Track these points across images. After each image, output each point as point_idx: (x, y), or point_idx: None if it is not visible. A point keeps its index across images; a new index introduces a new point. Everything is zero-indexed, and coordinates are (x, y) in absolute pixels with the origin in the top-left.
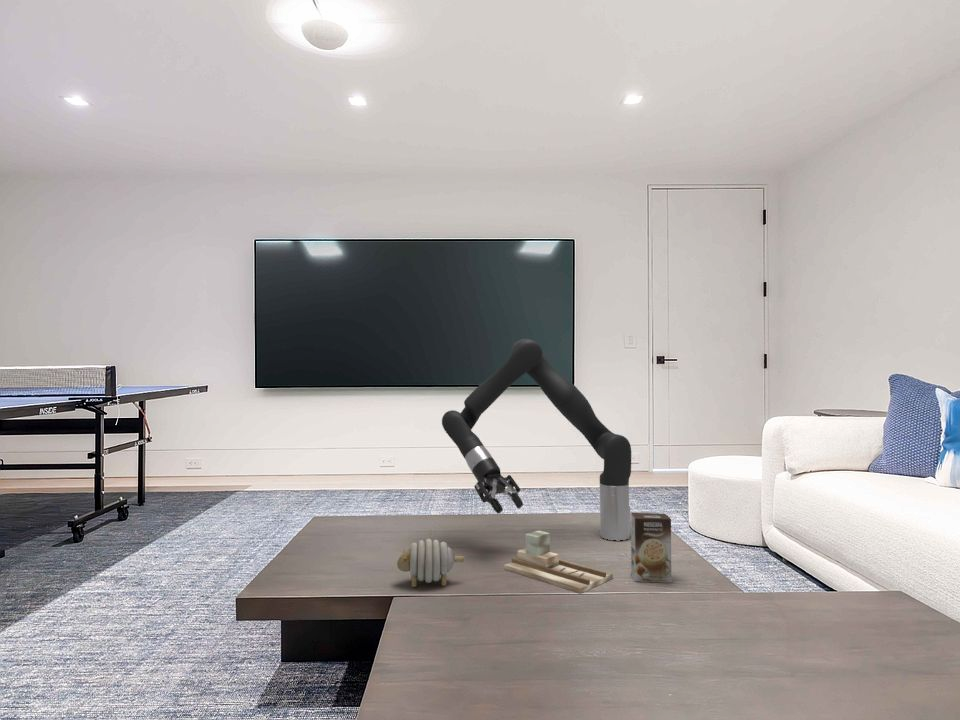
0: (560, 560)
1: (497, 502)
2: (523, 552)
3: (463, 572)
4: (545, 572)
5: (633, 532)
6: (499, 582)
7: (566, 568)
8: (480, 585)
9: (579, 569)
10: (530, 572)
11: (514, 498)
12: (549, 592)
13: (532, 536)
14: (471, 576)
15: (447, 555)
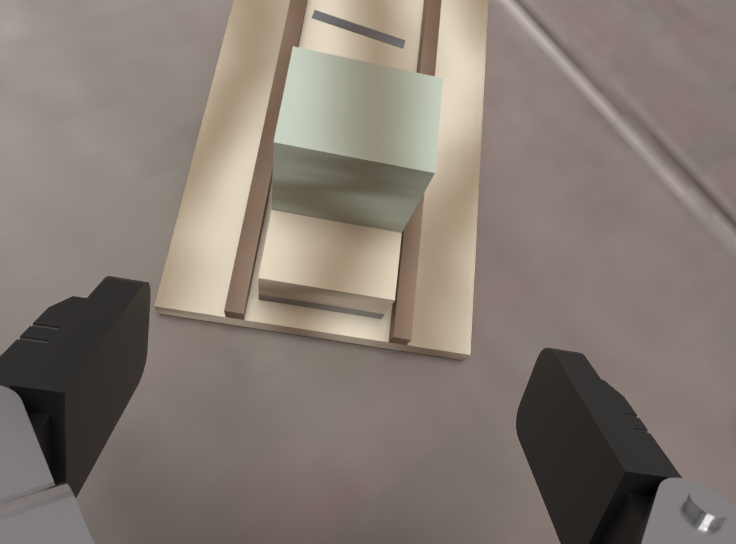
0: (272, 99)
1: (623, 419)
2: (395, 252)
3: None
4: None
5: None
6: (615, 273)
7: None
8: (702, 324)
9: (305, 8)
10: (476, 178)
11: (82, 428)
12: (552, 58)
13: (439, 113)
14: (659, 441)
15: None
